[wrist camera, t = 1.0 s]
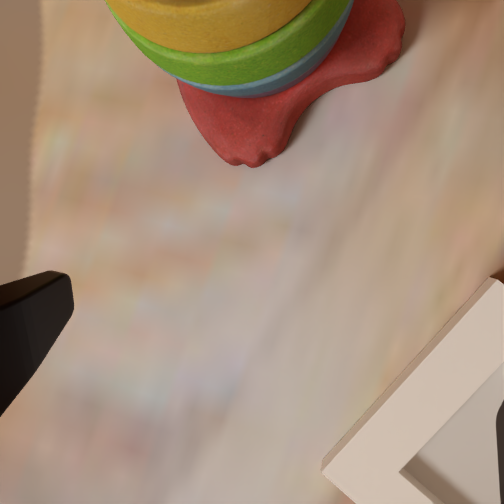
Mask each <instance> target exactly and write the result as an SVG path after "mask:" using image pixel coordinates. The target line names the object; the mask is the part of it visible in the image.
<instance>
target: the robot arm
mask: <svg viewBox="0 0 504 504" xmlns="http://www.w3.org/2000/svg"><path fill="white" fill-rule="evenodd" d="M73 310H74V300H73V292H72V285H71V279H70V277H69V276H68V275H67V274H65V273H61V272H57V271H46V272H43V273H39V274H36V275H33V276H29V277H26V278H23V279H20V280H16V281H13V282H10V283H7V284H3V285H0V417H1V415H2V414H3V413H4V412H5V410H6V409H7V408H8V407H9V405H10V404H11V403H12V401H13V400H14V399H15V398H16V396H17V395H18V394H19V393H20V391H21V390H22V389H23V388H24V386H25V385H26V384H27V382H28V381H29V380H30V378H31V377H32V376H33V374H34V373H35V372H36V370H37V369H38V367H39V366H40V364H41V363H42V361H43V360H44V358H45V357H46V355H47V354H48V352H49V350H50V349H51V347H52V346H53V344H54V343H55V341H56V339H57V338H58V336H59V335H60V333H61V332H62V330H63V328H64V327H65V325H66V324H67V322H68V321H69V319H70V317H71V316H72V313H73ZM496 438H497V455H498V472H499V489H500V501H501V504H504V400H503V402H502V404H501V406H500V408H499V410H498V412H497V416H496Z"/></svg>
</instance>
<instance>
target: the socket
mask: <svg viewBox="0 0 504 504" xmlns="http://www.w3.org/2000/svg"><path fill="white" fill-rule="evenodd" d="M503 400H504V284H503V283H501V282H500V281H499V280H497V279H494V278H491V277H488V279H487V280H486V281H485V282H484V283H483V284H482V285H481V286H480V287H479V288H478V290H477V291H476V292H475V293H474V294H473V295H472V296H471V297H470V298H469V299H468V301H467V302H466V303H465V304H464V305H463V306H462V307H461V308H460V309H459V310H458V312H457V313H456V314H455V315H454V316H453V317H452V318H451V319H450V320H449V321H448V323H447V324H446V325H445V326H444V327H443V328H442V329H441V330H440V331H439V332H438V334H437V335H436V336H435V337H434V338H433V339H432V340H431V341H430V342H429V343H428V345H427V346H426V347H425V348H424V349H423V350H422V351H421V352H420V353H419V354H418V356H417V357H416V358H415V359H414V360H413V361H412V362H411V363H410V364H409V365H408V367H407V368H406V369H405V370H404V371H403V372H402V373H401V374H400V375H399V376H398V378H397V379H396V380H395V381H394V382H393V383H392V384H391V385H390V386H389V387H388V388H387V390H386V391H385V392H384V393H383V394H382V395H381V396H380V397H379V398H378V399H377V401H376V402H375V403H374V404H373V405H372V406H371V407H370V408H369V409H368V410H367V412H366V413H365V414H364V415H363V416H362V417H361V418H360V419H359V420H358V421H357V423H356V424H355V425H354V426H353V427H352V428H351V429H350V430H349V431H348V432H347V434H346V435H345V436H344V437H343V438H342V439H341V440H340V441H339V442H338V443H337V445H336V446H335V447H334V448H333V449H332V450H331V451H330V452H329V453H328V454H327V456H326V457H325V458H324V459H323V460H322V467H321V473H322V474H323V475H324V476H325V477H327V478H328V479H329V480H330V481H331V482H332V483H333V484H334V485H336V486H337V487H338V488H339V489H340V490H341V491H342V492H343V493H345V494H346V495H347V496H348V497H349V498H350V499H351V500H352V501H354V502H355V503H356V504H501V501H500V489H499V472H498V455H497V438H496V416H497V412H498V410H499V408H500V406H501V404H502V402H503Z"/></svg>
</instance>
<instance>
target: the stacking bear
mask: <svg viewBox="0 0 504 504" xmlns="http://www.w3.org/2000/svg"><path fill="white" fill-rule="evenodd" d="M105 2H106V4H107V5H108V7H109V9H110V10H111V12H112V14H113V15H114V17H115V19H116V20H117V21H118V23H119V24H120V26H121V27H122V29H123V30H124V31H125V33H126V34H127V35H128V36H129V37H130V39H131V40H132V41H133V42H134V44H135V45H136V46H137V47H138V48H139V49H140V50H141V51H142V52H143V54H145V55H146V56H147V57H148V58H149V59H150V60H151V61H153V62H154V63H155V64H156V65H158V66H159V67H160V68H161V69H163V70H164V71H165V72H167V73H168V74H170V75H171V76H173V77H175V78H176V79H177V83H178V86H179V89H180V92H181V95H182V98H183V101H184V103H185V105H186V107H187V110H188V112H189V114H190V116H191V118H192V120H193V121H194V123H195V125H196V126H197V128H198V130H199V131H200V133H201V134H202V136H203V137H204V138H205V140H206V141H207V142H208V144H209V145H210V146H211V147H212V149H213V150H214V151H215V152H216V153H217V154H218V155H219V156H220V157H221V158H222V159H223V160H224V161H226V162H227V163H229V164H231V165H234V166H238V165H241V164H246V165H247V166H249V167H251V168H255V167H259V166H261V165H262V164H264V163H265V161H266V160H267V159H268V158H274V157H276V156H278V155H279V154H280V153H281V152H282V151H283V150H284V148H285V146H286V144H287V142H288V140H289V137H290V135H291V132H292V130H293V128H294V125H295V123H296V122H297V120H298V118H299V117H300V115H301V114H302V113H303V111H304V110H305V109H306V108H307V107H308V106H309V105H310V104H311V103H312V102H313V101H314V100H316V99H317V98H318V97H320V96H321V95H322V94H324V93H326V92H328V91H330V90H332V89H334V88H336V87H339V86H342V85H347V84H353V83H360V82H366V81H369V80H372V79H374V78H377V77H378V76H379V75H381V74H382V73H383V71H384V69H385V67H386V66H387V65H388V64H390V63H392V62H394V61H396V60H397V58H398V57H399V55H400V52H401V48H402V42H401V38H402V36H403V34H404V31H405V18H404V15H403V12H402V9H401V7H400V5H399V4H398V2H397V1H396V0H105Z"/></svg>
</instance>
